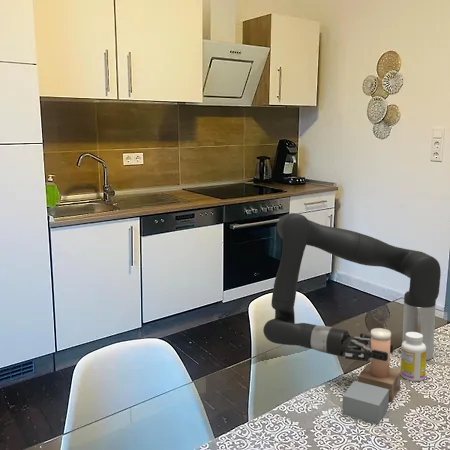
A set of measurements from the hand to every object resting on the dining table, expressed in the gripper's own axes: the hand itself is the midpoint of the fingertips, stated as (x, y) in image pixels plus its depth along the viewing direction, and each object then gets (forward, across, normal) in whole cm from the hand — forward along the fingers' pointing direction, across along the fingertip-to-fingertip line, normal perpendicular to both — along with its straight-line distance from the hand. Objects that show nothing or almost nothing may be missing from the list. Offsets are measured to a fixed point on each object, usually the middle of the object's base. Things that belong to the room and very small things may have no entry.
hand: (390, 353), depth 127 cm
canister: (-3, 0, +6) cm, 7 cm away
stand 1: (-3, 0, +12) cm, 12 cm away
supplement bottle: (+3, +13, +12) cm, 18 cm away
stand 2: (-3, -12, +12) cm, 17 cm away
